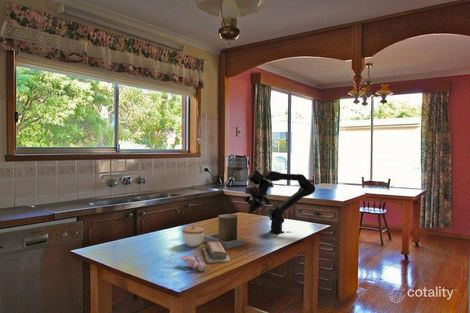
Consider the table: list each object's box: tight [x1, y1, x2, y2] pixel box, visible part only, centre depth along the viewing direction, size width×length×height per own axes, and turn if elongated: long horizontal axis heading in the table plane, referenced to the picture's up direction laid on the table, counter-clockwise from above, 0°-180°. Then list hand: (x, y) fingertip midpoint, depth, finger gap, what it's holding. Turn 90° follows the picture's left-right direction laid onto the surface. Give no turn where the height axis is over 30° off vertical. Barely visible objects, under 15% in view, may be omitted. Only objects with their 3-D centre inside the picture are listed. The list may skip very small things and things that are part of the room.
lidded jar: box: [181, 225, 205, 247], centre depth 170 cm, size 11×11×9 cm
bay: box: [203, 232, 245, 250], centre depth 173 cm, size 12×17×3 cm
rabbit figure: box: [179, 254, 211, 274], centre depth 138 cm, size 6×6×15 cm
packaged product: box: [202, 241, 231, 264], centre depth 153 cm, size 18×5×10 cm
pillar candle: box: [217, 213, 238, 242], centre depth 175 cm, size 10×10×15 cm
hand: (249, 213), depth 186 cm, fingers closed
